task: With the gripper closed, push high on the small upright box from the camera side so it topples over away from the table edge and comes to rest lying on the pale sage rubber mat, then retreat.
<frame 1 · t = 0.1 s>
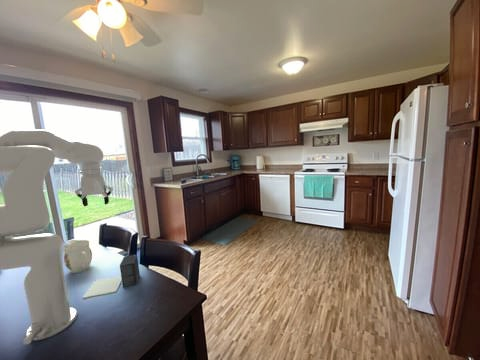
hand: (96, 204, 109), 31 cm above the table, fingers open, 9 cm apart
pitcher: (81, 270, 104), on the table
box: (131, 281, 92), on the table
mat: (105, 286, 89), on the table
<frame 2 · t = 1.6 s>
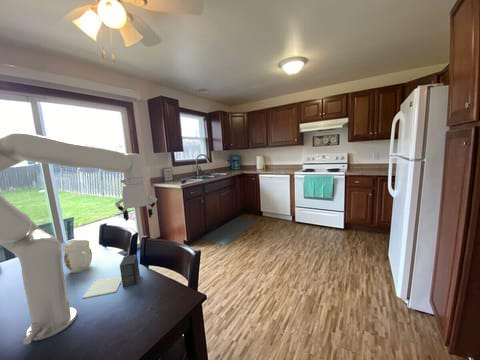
hand: (138, 218, 94), 27 cm above the table, fingers open, 9 cm apart
nothing on the table moved.
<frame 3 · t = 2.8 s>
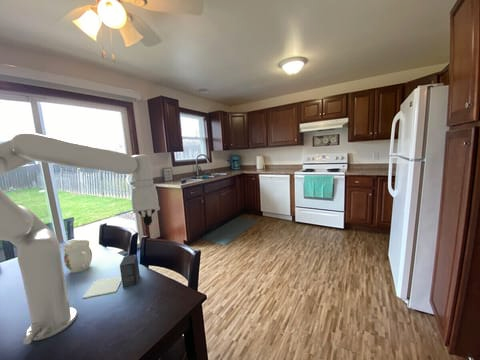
hand: (148, 224, 91), 25 cm above the table, fingers closed
nothing on the table moved.
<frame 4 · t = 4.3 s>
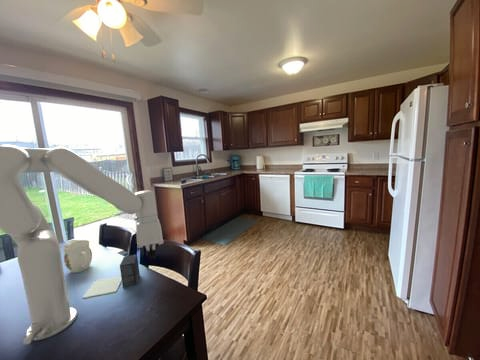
hand: (152, 257, 93), 9 cm above the table, fingers closed
nothing on the table moved.
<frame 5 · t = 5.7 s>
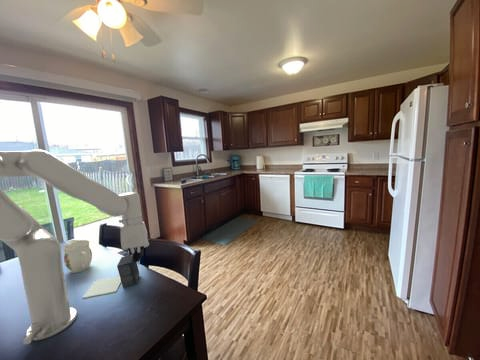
hand: (137, 260, 91), 9 cm above the table, fingers closed
box: (131, 281, 92), on the table, touching gripper
everything else where it was.
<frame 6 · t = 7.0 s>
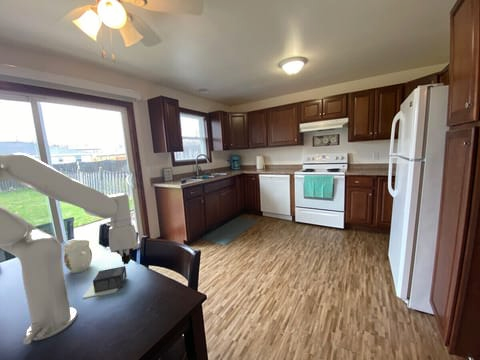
hand: (126, 262, 90), 9 cm above the table, fingers closed
box: (124, 276, 90), point 3 cm above the table, touching mat
everything else where it was.
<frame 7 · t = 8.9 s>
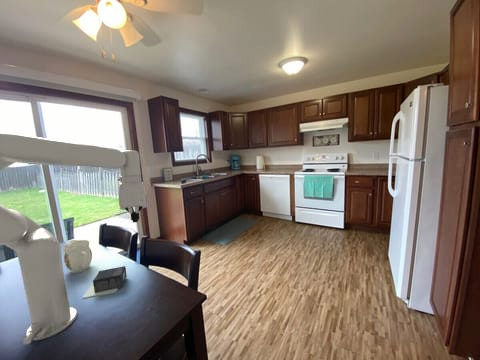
hand: (135, 221, 89), 27 cm above the table, fingers closed
nothing on the table moved.
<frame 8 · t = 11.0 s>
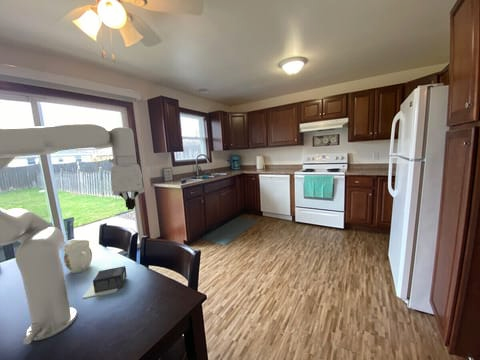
hand: (131, 208, 79), 35 cm above the table, fingers closed
nothing on the table moved.
at the end: box tilted 89°; box inside the target area (4.6 cm from its centre), point 3.1 cm above the table; box touching mat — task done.
